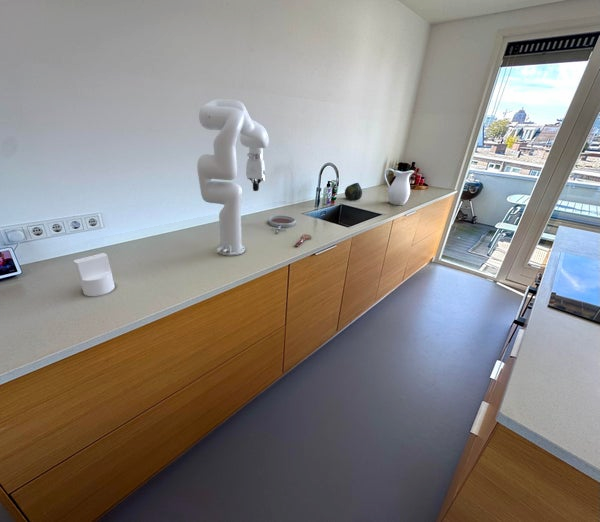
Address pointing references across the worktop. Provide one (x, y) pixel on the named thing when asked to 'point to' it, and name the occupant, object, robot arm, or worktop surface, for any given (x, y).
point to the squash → (353, 192)
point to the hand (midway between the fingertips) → (255, 190)
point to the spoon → (303, 239)
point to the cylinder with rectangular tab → (95, 274)
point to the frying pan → (281, 222)
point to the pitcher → (399, 187)
